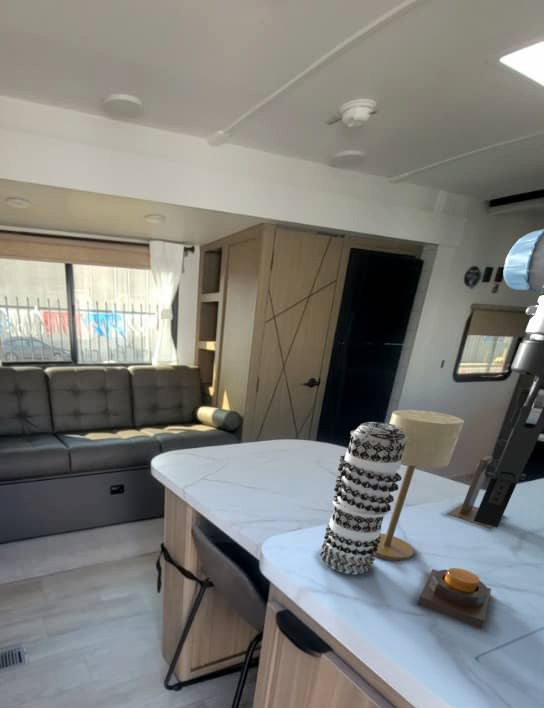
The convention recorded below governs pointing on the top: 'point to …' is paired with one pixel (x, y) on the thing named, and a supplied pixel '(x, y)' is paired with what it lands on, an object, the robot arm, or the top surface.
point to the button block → (455, 600)
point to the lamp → (418, 464)
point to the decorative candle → (363, 496)
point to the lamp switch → (493, 463)
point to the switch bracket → (473, 494)
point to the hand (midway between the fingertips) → (485, 522)
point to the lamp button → (461, 579)
